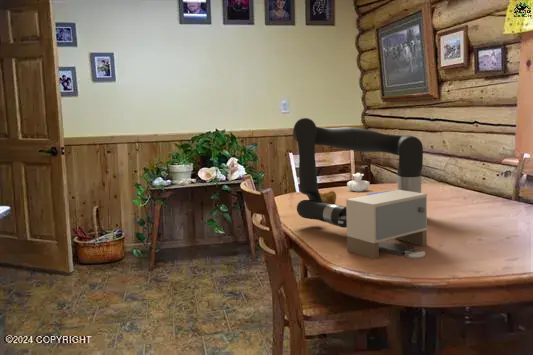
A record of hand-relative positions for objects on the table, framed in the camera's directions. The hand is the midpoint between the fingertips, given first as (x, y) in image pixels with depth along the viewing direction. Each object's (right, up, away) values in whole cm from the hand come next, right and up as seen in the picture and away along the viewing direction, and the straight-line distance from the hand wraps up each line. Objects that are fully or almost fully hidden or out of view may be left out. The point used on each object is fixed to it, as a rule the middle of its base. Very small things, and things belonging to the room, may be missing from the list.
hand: (372, 223), depth 170 cm
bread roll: (-9, +2, +66) cm, 66 cm away
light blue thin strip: (+26, +5, +80) cm, 84 cm away
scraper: (+3, -8, -3) cm, 9 cm away
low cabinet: (+4, -8, -5) cm, 10 cm away
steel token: (+10, -9, -14) cm, 20 cm away
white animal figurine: (+14, +8, +102) cm, 103 cm away
